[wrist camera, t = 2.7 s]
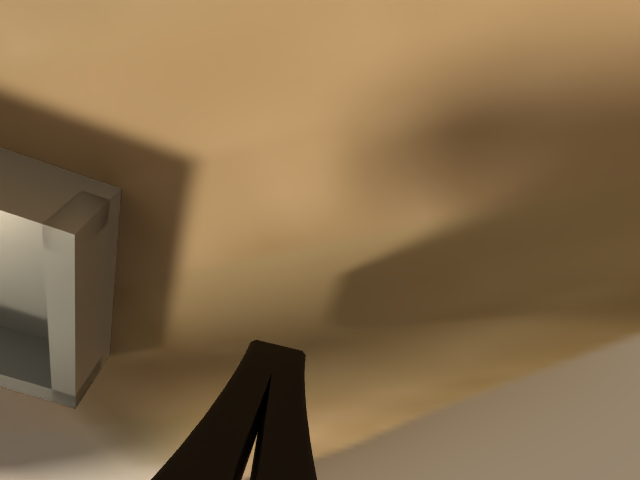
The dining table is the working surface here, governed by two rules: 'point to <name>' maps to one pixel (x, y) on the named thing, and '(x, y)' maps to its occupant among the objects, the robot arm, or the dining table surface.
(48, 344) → the tray
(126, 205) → the dining table surface
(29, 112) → the dining table surface
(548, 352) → the dining table surface
